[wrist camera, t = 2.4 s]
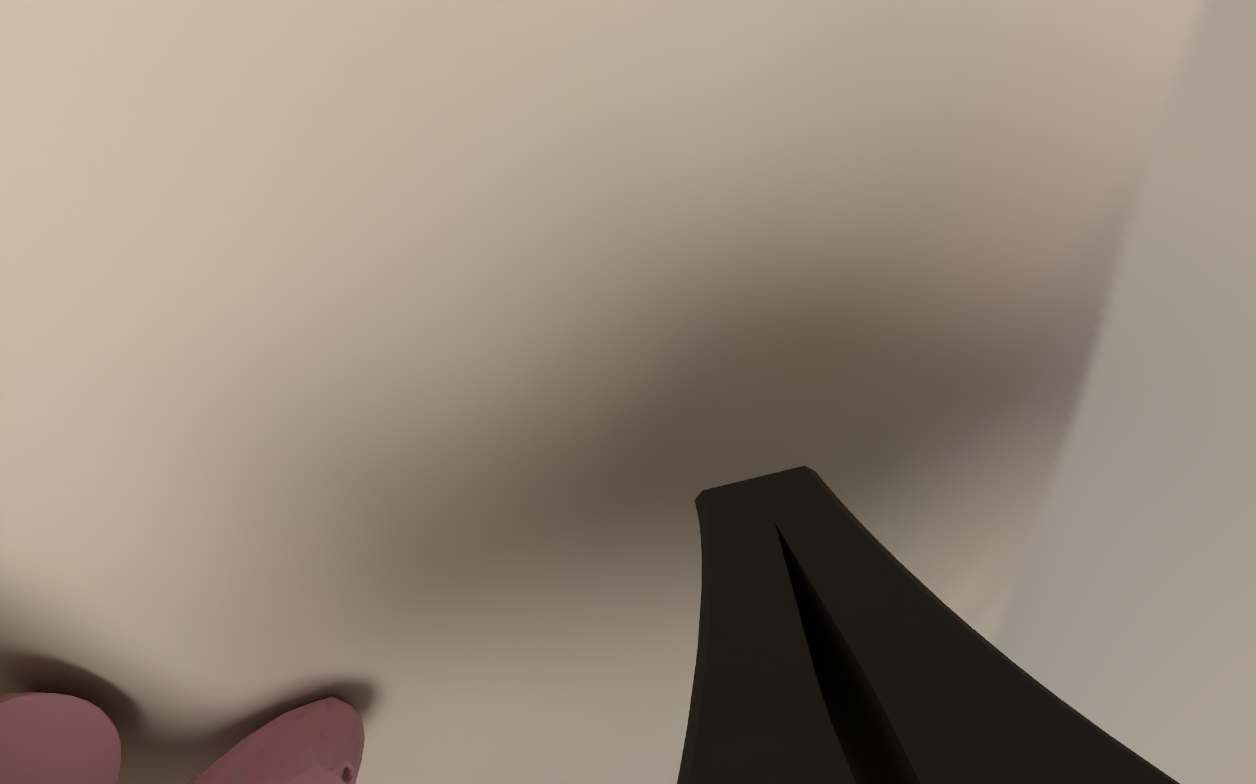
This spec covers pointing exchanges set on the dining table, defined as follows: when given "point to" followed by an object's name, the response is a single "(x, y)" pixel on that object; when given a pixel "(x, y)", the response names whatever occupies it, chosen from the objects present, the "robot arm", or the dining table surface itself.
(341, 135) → the dining table surface
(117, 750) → the video game controller
